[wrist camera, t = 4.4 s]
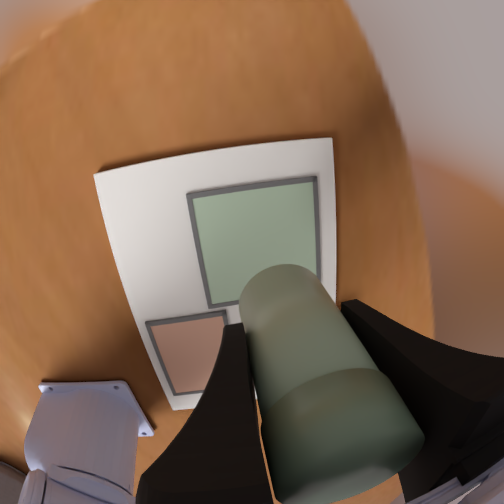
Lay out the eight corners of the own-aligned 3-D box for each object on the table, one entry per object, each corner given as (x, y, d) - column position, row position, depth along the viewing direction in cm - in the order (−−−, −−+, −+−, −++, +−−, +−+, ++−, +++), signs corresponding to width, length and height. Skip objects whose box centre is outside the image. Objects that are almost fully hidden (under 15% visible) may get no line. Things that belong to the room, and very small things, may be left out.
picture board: (173, 405, 25) (172, 426, 22) (96, 172, 16) (82, 180, 14) (328, 377, 26) (337, 396, 24) (328, 137, 18) (344, 140, 16)
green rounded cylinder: (242, 345, 14) (278, 515, 6) (229, 270, 12) (268, 464, 5) (324, 329, 14) (402, 477, 7) (324, 254, 12) (444, 406, 5)
